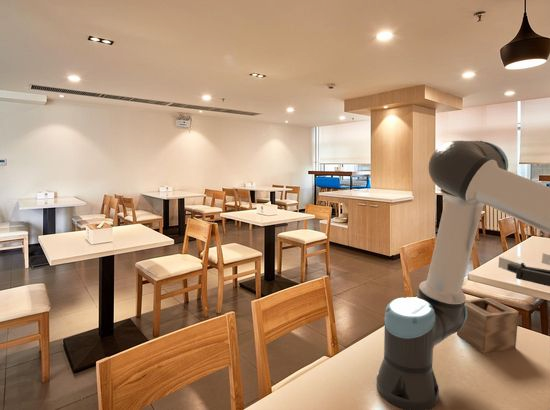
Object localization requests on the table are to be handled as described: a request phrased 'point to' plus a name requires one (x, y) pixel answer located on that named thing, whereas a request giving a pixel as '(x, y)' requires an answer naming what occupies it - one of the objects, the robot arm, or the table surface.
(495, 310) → the tall salmon pillar block
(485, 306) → the tip box
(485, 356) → the table surface
